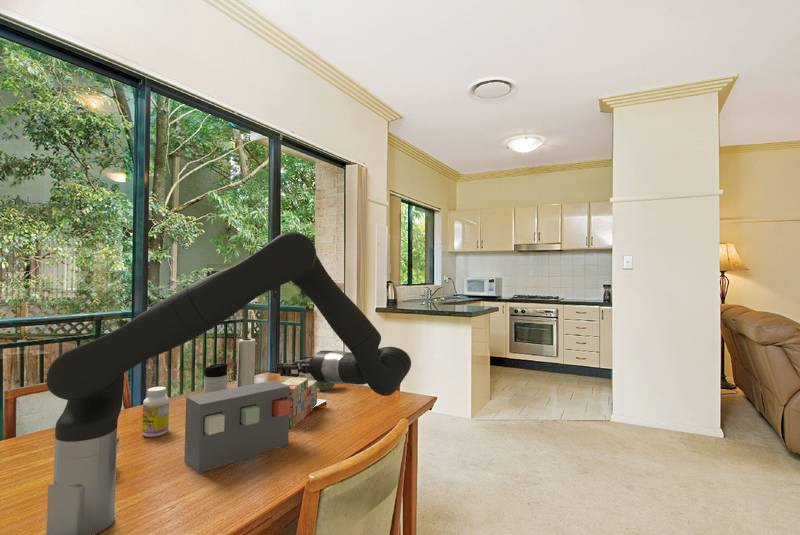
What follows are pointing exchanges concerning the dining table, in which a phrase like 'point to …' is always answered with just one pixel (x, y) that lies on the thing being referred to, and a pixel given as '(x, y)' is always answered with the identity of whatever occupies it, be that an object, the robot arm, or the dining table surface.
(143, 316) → the robot arm
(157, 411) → the supplement bottle
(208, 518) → the dining table surface
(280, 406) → the red button
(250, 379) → the paper towel roll
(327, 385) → the decorative artifact
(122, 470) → the dining table surface
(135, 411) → the dining table surface
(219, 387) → the travel mug
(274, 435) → the console
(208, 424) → the cream button
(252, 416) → the green button
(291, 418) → the stack of blocks
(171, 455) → the dining table surface
